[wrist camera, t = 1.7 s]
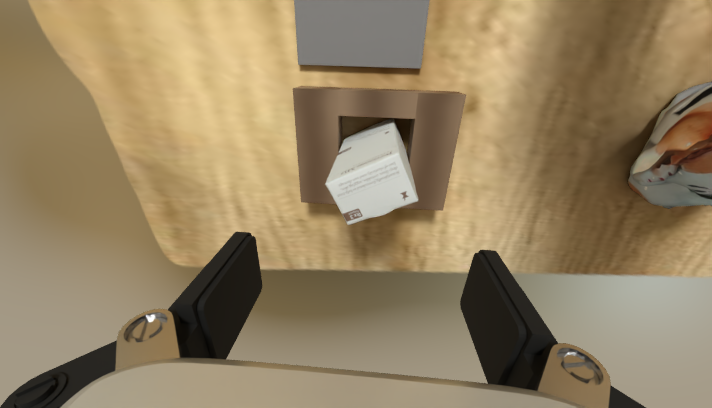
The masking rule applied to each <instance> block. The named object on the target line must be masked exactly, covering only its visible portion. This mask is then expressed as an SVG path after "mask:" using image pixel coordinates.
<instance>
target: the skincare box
mask: <svg viewBox="0 0 712 408" xmlns="http://www.w3.org/2000/svg"><path fill="white" fill-rule="evenodd" d="M325 185H326V186H327V188H328V190H329V192H330V194H331V195H332V197H333V199H334V201H335V202H336V204H337V206H338V208H339V210H340V212H341V213H342V215H343V217H344V219H345V221H346V223H347V224H348V225H351V224H354V223H357V222H360V221H363V220H365V219H368V218H372V217H378V216H382V215H385V214H387V213H389V212H391V211H392V210H394V209H397V208H400V207H403V206H405V205H408V204H411V203H414V202H417V201H418V200H419V199H418V196H417V193H416V188H415V184H414V179H413V176H412V172H411V168H410V164H409V161H408V157H407V153H406V149H405V146H404V144H403V141H402V138H401V136H400V133H399V130H398V128H397V125H396V123H395V120H394V119H393V118H392V119H388V120H385V121H383V122H380V123H377V124H375V125H373V126H370V127H368V128H366V129H364V130H361V131H359V132H357V133H355V134H353V135H351V136H349V137H347V138H346V139H344V141H343V144H342V146H341V148H340V151H339V153H338V155H337V157H336V160H335V162H334V164H333V167H332V169H331V171H330V174H329V176H328V178H327V181H326V183H325Z"/></svg>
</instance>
